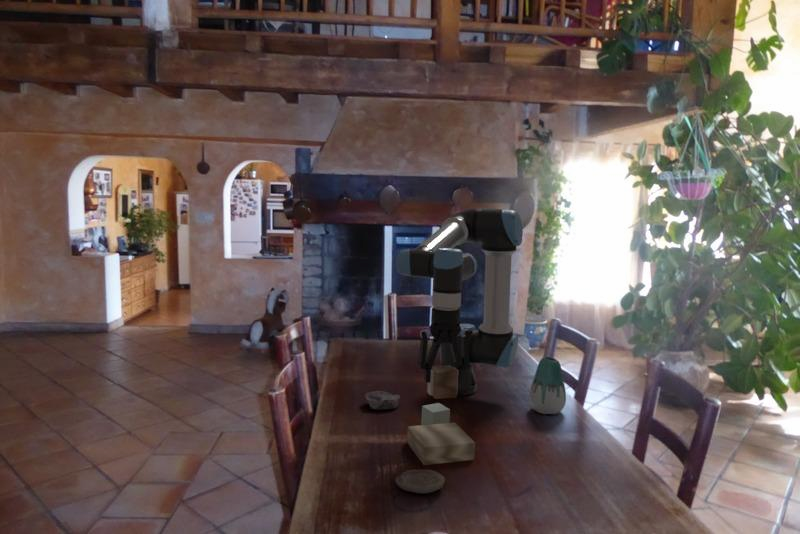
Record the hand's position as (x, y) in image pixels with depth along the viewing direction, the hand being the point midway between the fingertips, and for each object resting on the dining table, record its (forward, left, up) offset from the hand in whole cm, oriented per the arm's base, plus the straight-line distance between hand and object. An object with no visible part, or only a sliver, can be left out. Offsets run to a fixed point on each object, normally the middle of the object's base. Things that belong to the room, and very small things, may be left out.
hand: (442, 392), depth 154 cm
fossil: (+11, +18, -17) cm, 27 cm away
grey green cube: (-4, -16, -16) cm, 23 cm away
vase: (-44, -22, -16) cm, 52 cm away
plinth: (0, 0, -16) cm, 16 cm away
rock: (+8, -35, -17) cm, 40 cm away
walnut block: (0, 0, 0) cm, 0 cm away
